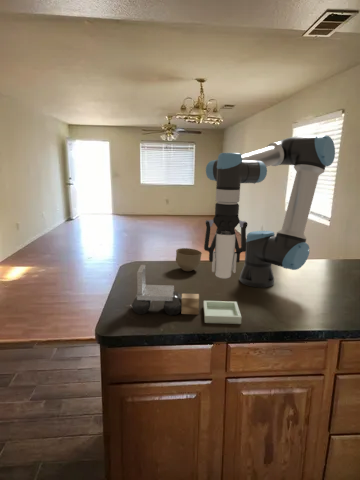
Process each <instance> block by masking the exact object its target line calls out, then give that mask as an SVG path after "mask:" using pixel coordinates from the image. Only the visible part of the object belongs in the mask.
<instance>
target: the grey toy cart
mask: <svg viewBox="0 0 360 480" xmlns="http://www.w3.org/2000/svg"><path fill="white" fill-rule="evenodd" d="M136 279H137V281H136V284H137V290H136V291H137V293H136V295H135V298H134V299H133V301H132V304H131V308H132V310H133V312H134V313H136V314H137V315H145V314H147V313H148V312H149V310H150V307H151V303H152V302H155V301H158V302H164V304H163V310H164V312H165V313H166V314H168V315H169V316H176V315H178V314H180V312H181V309H182V294H180V292H178V291H176V290H175V285H170V284H169V285H166V284H165V285H164V284H163V285H162V284H159V285H158V284H147V283H146V264H140V266H139V268H138V270H137V272H136Z"/></svg>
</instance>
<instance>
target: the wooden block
mask: <svg viewBox="0 0 360 480" xmlns="http://www.w3.org/2000/svg"><path fill="white" fill-rule="evenodd" d="M181 297H182V305H181V311H180V312H181V314H182V315H199V311H200V309H199V307H200V293H181Z"/></svg>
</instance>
